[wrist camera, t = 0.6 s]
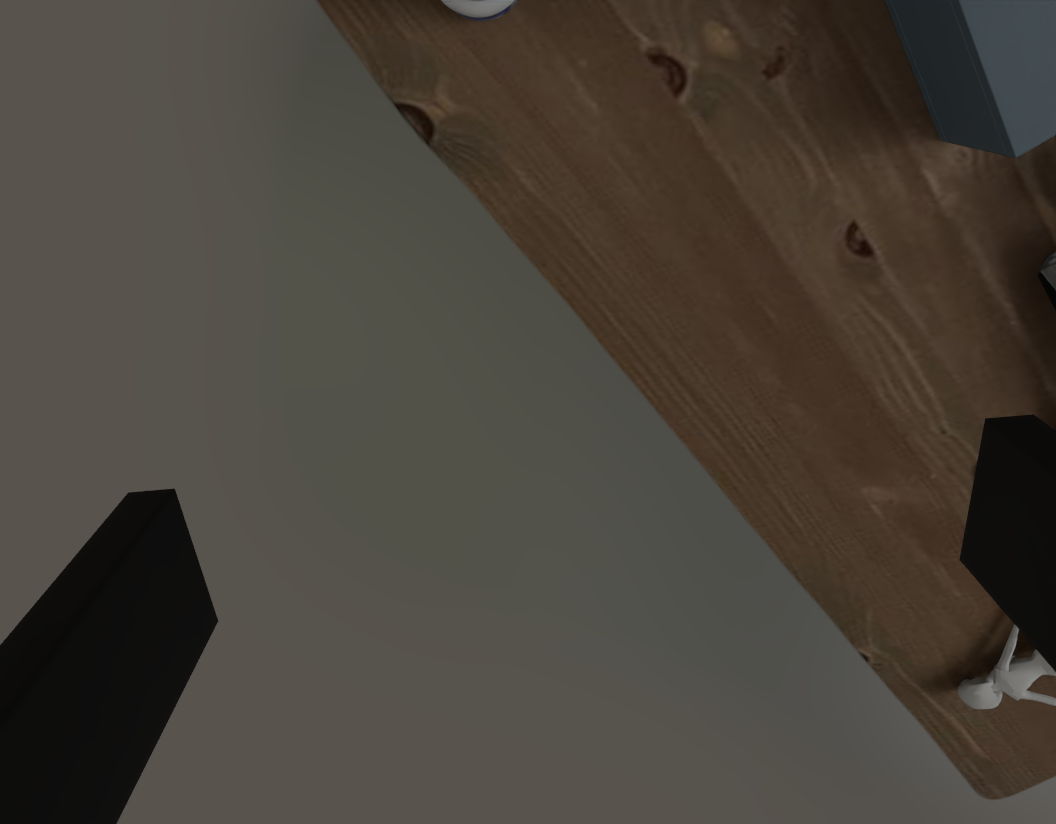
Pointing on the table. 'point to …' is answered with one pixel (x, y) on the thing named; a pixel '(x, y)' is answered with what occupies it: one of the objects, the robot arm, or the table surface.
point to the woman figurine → (1007, 679)
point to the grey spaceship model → (1049, 277)
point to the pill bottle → (480, 8)
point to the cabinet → (984, 69)
